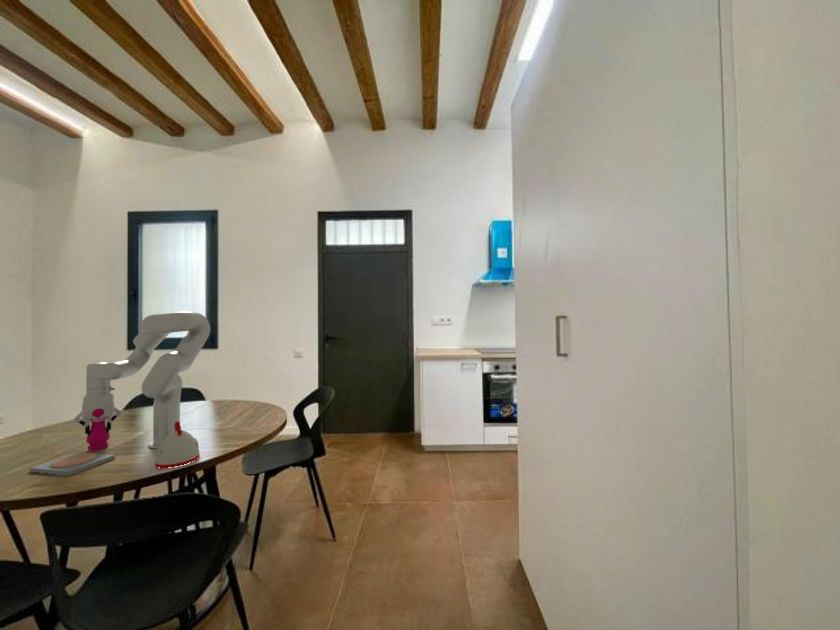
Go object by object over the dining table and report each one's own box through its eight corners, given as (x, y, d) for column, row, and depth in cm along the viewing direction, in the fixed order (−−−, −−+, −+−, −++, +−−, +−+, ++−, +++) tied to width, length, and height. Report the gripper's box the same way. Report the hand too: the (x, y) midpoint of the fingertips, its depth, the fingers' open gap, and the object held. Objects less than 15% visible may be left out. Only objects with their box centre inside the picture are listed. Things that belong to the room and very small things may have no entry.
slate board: (114, 458, 133) (114, 453, 133) (68, 476, 118) (68, 470, 118) (79, 455, 136) (79, 450, 136) (29, 472, 121) (30, 466, 121)
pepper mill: (98, 451, 140) (98, 403, 140) (81, 451, 140) (81, 403, 140) (114, 445, 147) (114, 399, 147) (98, 445, 147) (98, 399, 148)
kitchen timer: (194, 451, 140) (194, 415, 140) (203, 460, 130) (203, 422, 130) (152, 461, 130) (152, 422, 130) (158, 472, 120) (158, 430, 120)
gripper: (124, 387, 153) (124, 427, 152) (70, 393, 141) (70, 436, 141) (125, 389, 147) (125, 430, 147) (69, 395, 135) (68, 440, 135)
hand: (98, 433), depth 144 cm, fingers closed on pepper mill, 5 cm apart
